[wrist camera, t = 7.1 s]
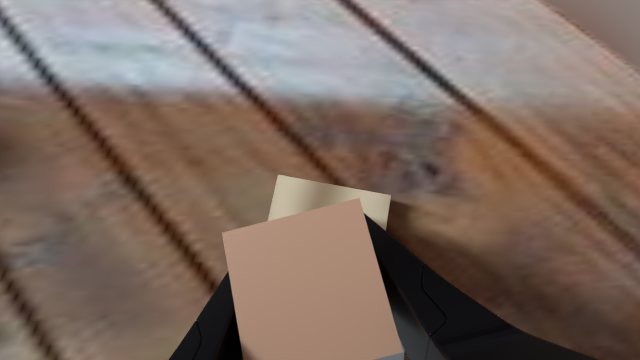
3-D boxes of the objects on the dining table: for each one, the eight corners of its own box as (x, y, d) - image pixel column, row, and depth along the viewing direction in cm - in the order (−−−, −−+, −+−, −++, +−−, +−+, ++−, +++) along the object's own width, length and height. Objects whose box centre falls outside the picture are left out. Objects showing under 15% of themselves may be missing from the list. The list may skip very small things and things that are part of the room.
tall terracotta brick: (357, 266, 16) (403, 352, 6) (301, 280, 16) (248, 390, 6) (342, 210, 17) (359, 197, 6) (289, 224, 17) (222, 232, 6)
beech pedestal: (383, 198, 20) (390, 195, 18) (367, 305, 19) (372, 319, 16) (284, 179, 21) (278, 174, 18) (262, 282, 19) (252, 291, 17)
